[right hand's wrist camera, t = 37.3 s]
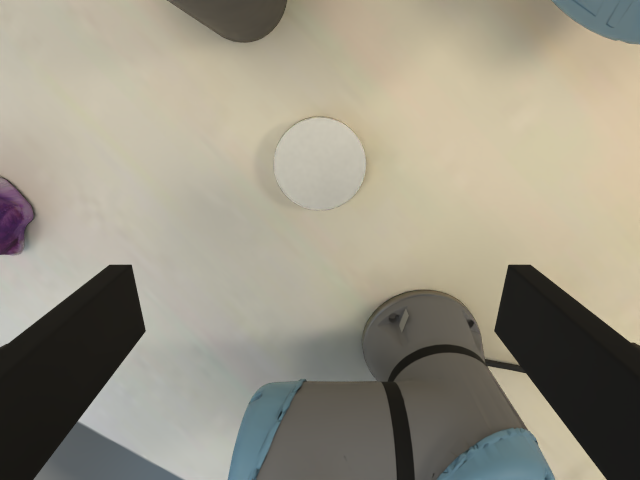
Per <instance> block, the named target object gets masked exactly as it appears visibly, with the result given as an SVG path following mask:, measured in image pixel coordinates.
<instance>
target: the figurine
mask: <svg viewBox="0 0 640 480" xmlns="http://www.w3.org/2000/svg"><path fill="white" fill-rule="evenodd" d="M33 216H34V214H33V210H32V207H31V205H30V203H29V202H27V200H26V199H25V198H24V197H23V196H22V195H21V194H20V193H19V191H18V190H17V189H16V188H15V187H14V186H13V185H11V184H10V183H9V182H8V180H5V179H3V178H1V177H0V255H4V254H5V255H19V254H21V253H22V251H23V249H24V245H25V239H24V231H25V228H26V226H27V224H28V223H29V222H31V221H32V219H33Z"/></svg>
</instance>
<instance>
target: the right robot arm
mask: <svg viewBox="0 0 640 480" xmlns="http://www.w3.org/2000/svg"><path fill="white" fill-rule="evenodd" d="M145 331H146V330H145V325H144V321H143V316H142V311H141V307H140V302H139V297H138V293H137V288H136V283H135V279H134V274H133V269H132V265H109V266H107V267H106V268H105V269H104V270H102V271H101V272H100V273H98V274H97V275H96V276H95V277H93V278H92V279H91V280H89V281H88V282H87V283H86V284H84V285H83V286H82V287H80V288H79V289H78V290H77V291H75V292H74V293H73V294H71V295H70V296H69V297H68V298H66V299H65V300H64V301H62V302H61V303H60V304H59V305H57V306H56V307H55V308H53V309H52V310H51V311H50V312H48V313H47V314H46V315H44V316H43V317H42V318H41V319H39V320H38V321H37V322H35V323H34V324H33V325H32V326H30V327H29V328H28V329H26V330H25V331H24V332H23V333H21V334H20V335H19V336H17V337H16V338H15V339H14V340H12V341H11V342H10V343H8V344H6V345H4V346H2V347H0V480H33V479H34V478H35V477H36V475H37V474H38V473H39V471H40V470H41V469H42V467H43V466H44V465H45V463H46V462H47V461H48V459H49V458H50V457H51V455H52V454H53V453H54V451H55V450H56V449H57V447H58V446H59V445H60V444H61V442H62V441H63V440H64V438H65V437H66V436H67V434H68V433H69V432H70V430H71V429H72V428H73V426H74V425H75V424H76V422H77V421H78V420H79V419H80V417H81V416H82V415H83V413H84V412H85V411H86V409H87V408H88V407H89V405H90V404H91V403H92V401H93V400H94V399H95V397H96V396H97V395H98V393H99V392H100V391H101V389H102V388H103V387H104V386H105V384H106V383H107V382H108V380H109V379H110V378H111V376H112V375H113V374H114V372H115V371H116V370H117V368H118V367H119V366H120V364H121V363H122V362H123V360H124V359H125V358H126V356H127V355H128V354H129V353H130V351H131V350H132V349H133V347H134V346H135V345H136V343H137V342H138V341H139V339H140V338H141V337H142V335H143V334H144V333H145ZM494 331H495V333H496V334H497V335H498V337H499V338H500V339H501V341H502V342H503V343H504V345H505V346H506V347H507V349H508V350H509V351H510V353H511V354H512V355H513V356H514V358H515V359H516V360H517V362H518V363H519V364H520V366H518V365H513V364H508V363H502V362H497V361H492V360H487V359H484V352H483V346H482V339H481V333H480V330H479V327H478V325H477V323H476V321H475V319H474V317H473V316H472V314H471V313H470V311H469V310H468V309H467V308H466V306H465V305H464V304H463V303H461V302H460V301H459V300H457V299H456V298H454V297H452V296H450V295H448V294H445V293H442V292H438V291H432V290H418V291H411V292H407V293H403V294H400V295H398V296H396V297H394V298H392V299H390V300H388V301H387V302H385V303H384V304H382V305H381V306H380V307H379V308H378V309H377V310H376V311H375V312H374V313H373V314H372V316H371V317H370V318H369V320H368V322H367V324H366V326H365V329H364V332H363V338H362V346H363V352H364V357H365V361H366V363H367V366H368V368H369V370H370V372H371V373H372V375H373V376H374V377H375V379H376V380H377V381H363V382H318V381H306V379H300V380H299V381H294V382H276V383H269V384H266V385H264V386H262V387H261V388H260V389H259V390H258V391H257V392H256V393H255V394H254V396H253V397H252V399H251V401H250V402H249V405H248V407H247V409H246V411H245V414H244V417H243V420H242V422H241V426H240V429H239V432H238V436H237V439H236V443H235V447H234V451H233V456H232V460H231V466H230V471H229V476H228V480H555V478H554V475H553V473H552V471H551V469H550V467H549V465H548V463H547V462H546V460H545V458H544V456H543V454H542V452H541V450H540V448H539V446H538V442H537V440H536V438H535V437H534V435H533V434H532V433H531V432H530V431H528V429H527V428H526V426H525V424H524V423H523V421H522V420H521V418H520V417H519V415H518V414H517V412H516V410H515V409H514V407H513V406H512V404H511V403H510V401H509V399H508V398H507V396H506V395H505V393H504V392H503V390H502V389H501V387H500V385H499V384H498V382H497V381H496V379H495V378H494V376H493V375H492V373H491V371H490V370H489V368H488V367H487V366H492V367H497V368H502V369H508V370H513V371H518V372H523V373H526V374H527V375H528V376H529V378H530V379H531V380H532V382H533V383H534V384H535V386H536V387H537V388H538V389H539V391H540V392H541V393H542V395H543V396H544V397H545V399H546V400H547V401H548V403H549V404H550V405H551V407H552V408H553V409H554V411H555V412H556V413H557V415H558V416H559V417H560V419H561V420H562V421H563V422H564V424H565V425H566V426H567V428H568V429H569V430H570V432H571V433H572V434H573V436H574V437H575V438H576V440H577V441H578V442H579V444H580V445H581V446H582V448H583V449H584V450H585V452H586V453H587V454H588V455H589V457H590V458H591V459H592V461H593V462H594V463H595V465H596V466H597V467H598V469H599V470H600V471H601V473H602V474H603V475H604V477H605V478H606V479H607V480H640V346H639V345H637V344H635V343H630V342H629V341H628V340H626V339H625V338H624V337H623V336H621V335H620V334H619V333H617V332H616V331H615V330H614V329H612V328H611V327H610V326H608V325H607V324H606V323H605V322H603V321H602V320H601V319H599V318H598V317H597V316H596V315H594V314H593V313H592V312H590V311H589V310H588V309H587V308H585V307H584V306H583V305H581V304H580V303H579V302H578V301H576V300H575V299H574V298H572V297H571V296H570V295H569V294H567V293H566V292H565V291H563V290H562V289H561V288H560V287H558V286H557V285H556V284H554V283H553V282H552V281H551V280H549V279H548V278H547V277H545V276H544V275H543V274H542V273H540V272H539V271H538V270H536V269H535V268H534V267H533V266H531V265H508V269H507V274H506V279H505V283H504V288H503V293H502V297H501V302H500V307H499V311H498V316H497V321H496V325H495V330H494Z"/></svg>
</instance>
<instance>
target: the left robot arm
mask: <svg viewBox="0 0 640 480" xmlns="http://www.w3.org/2000/svg"><path fill="white" fill-rule="evenodd" d="M552 1H553V2H554V3H555V5H556V6H557V7H558V8H560V9H561V10H562V11H563V12H564V13H565V14H566V15H568V16H569V17H570V18H572V19H573V20H574V21H576V22H577V23H579V24H580V25H582V26H583V27H585V28H587V29H589V30H590V31H592V32H594V33H596V34H599V35H601V36H603V37H606V38H609V39H612V40H620V41H623V42H626V43H630V44H640V0H552Z"/></svg>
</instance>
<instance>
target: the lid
mask: <svg viewBox="0 0 640 480" xmlns="http://www.w3.org/2000/svg"><path fill="white" fill-rule="evenodd" d="M365 172H366V156H365V151H364V149H363V146H362V144H361V142H360V140H359V138H358V137H357V135H356V134H355V133H354V132H353V131H352V130H351V129H350V128H349V127H348V126H346V125H345V124H344V123H342V122H340V121H338V120H336V119H333V118H330V117H321V116H317V117H310V118H307V119H304V120H302V121H300V122H298V123H296V124H295V125H293V126H292V127H291V128H290V129H289V130H288V131H287V132H286V133H285V134H284V135H283V137H282V138H281V140H280V141H279V143H278V145H277V148H276V151H275V155H274V173H275V177H276V180H277V182H278V185H279V187H280V188H281V190H282V191H283V193H284V194H285V195H286V196H287V197H288V198H289V199H290V200H291V201H293V202H294V203H295V204H297V205H299V206H301V207H304V208H306V209H310V210H318V211H323V210H330V209H334V208H336V207H339V206H341V205H343V204H344V203H346V202H347V201H349V200H350V199H351V198H352V197H353V196H354V195H355V194H356V192H357V191H358V190H359V188H360V186H361V184H362V182H363V179H364V176H365Z"/></svg>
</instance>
